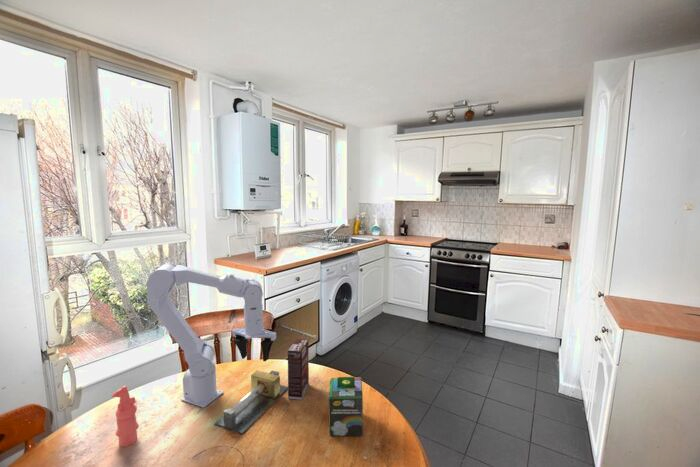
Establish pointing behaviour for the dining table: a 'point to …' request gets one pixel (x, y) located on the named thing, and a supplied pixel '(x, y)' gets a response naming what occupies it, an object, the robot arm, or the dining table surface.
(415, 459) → the dining table surface
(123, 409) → the figurine
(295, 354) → the supplement box
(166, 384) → the dining table surface
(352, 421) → the chalk box
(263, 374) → the yellow block with hole
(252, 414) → the pipe stand
